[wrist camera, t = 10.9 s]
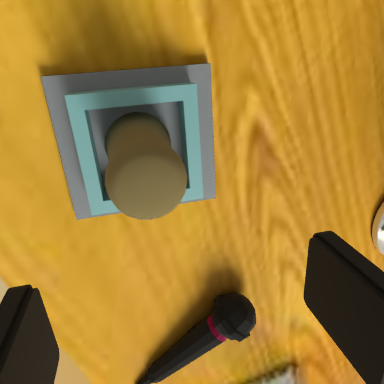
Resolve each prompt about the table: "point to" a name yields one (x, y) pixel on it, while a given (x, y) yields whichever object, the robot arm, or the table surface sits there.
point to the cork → (143, 167)
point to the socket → (122, 104)
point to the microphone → (207, 335)
